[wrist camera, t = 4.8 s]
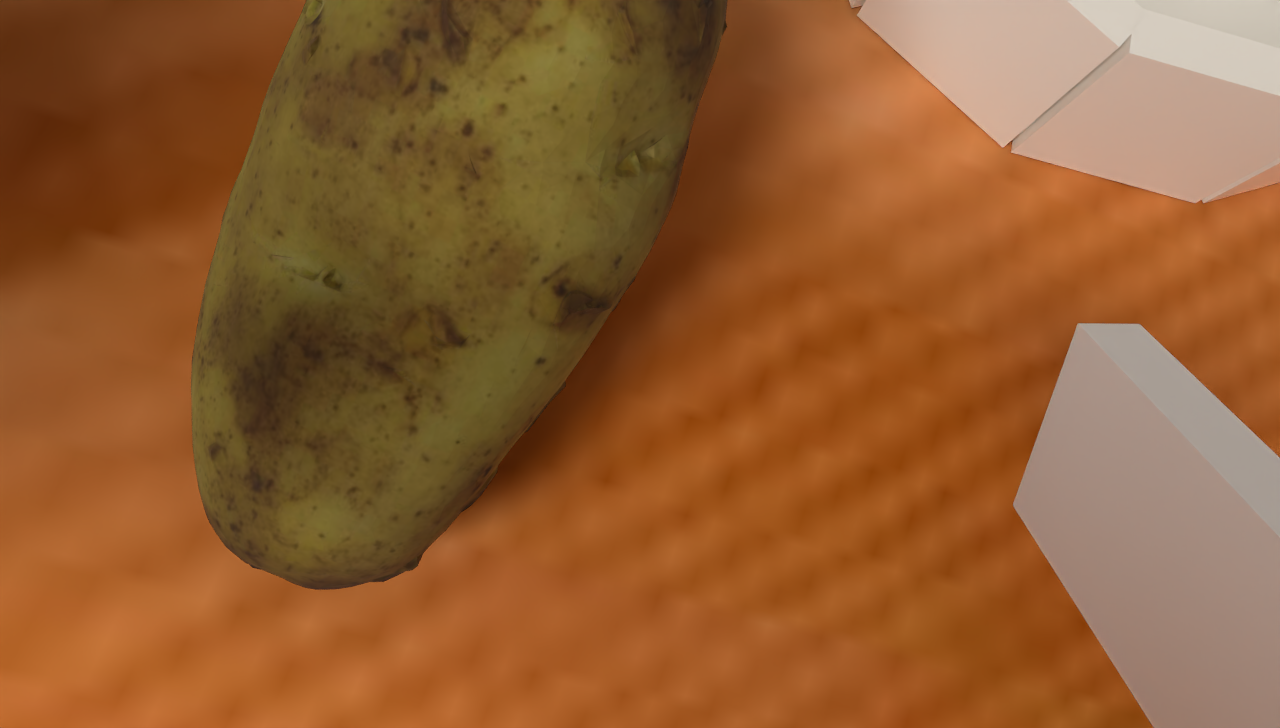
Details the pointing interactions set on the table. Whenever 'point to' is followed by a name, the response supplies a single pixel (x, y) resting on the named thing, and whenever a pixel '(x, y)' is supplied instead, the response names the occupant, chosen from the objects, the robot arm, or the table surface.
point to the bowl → (1109, 83)
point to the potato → (426, 259)
